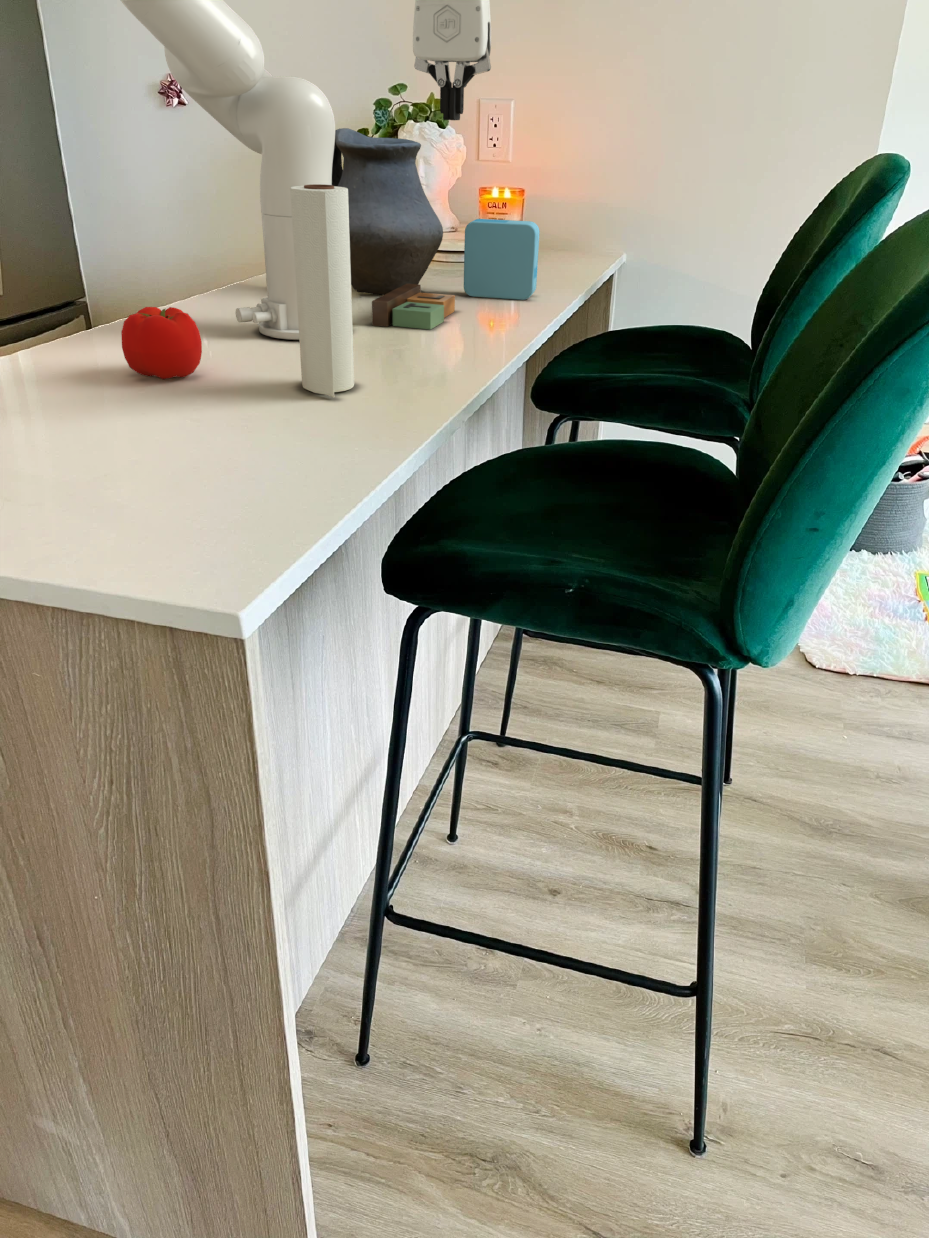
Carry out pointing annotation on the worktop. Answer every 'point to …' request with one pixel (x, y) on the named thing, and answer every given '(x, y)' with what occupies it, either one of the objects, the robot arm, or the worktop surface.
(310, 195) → the paper towel roll
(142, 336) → the tomato
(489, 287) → the blue rounded slab
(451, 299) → the oak letter tile
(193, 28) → the robot arm
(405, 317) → the sage letter tile
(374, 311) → the walnut ledge
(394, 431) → the worktop surface
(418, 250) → the pitcher
